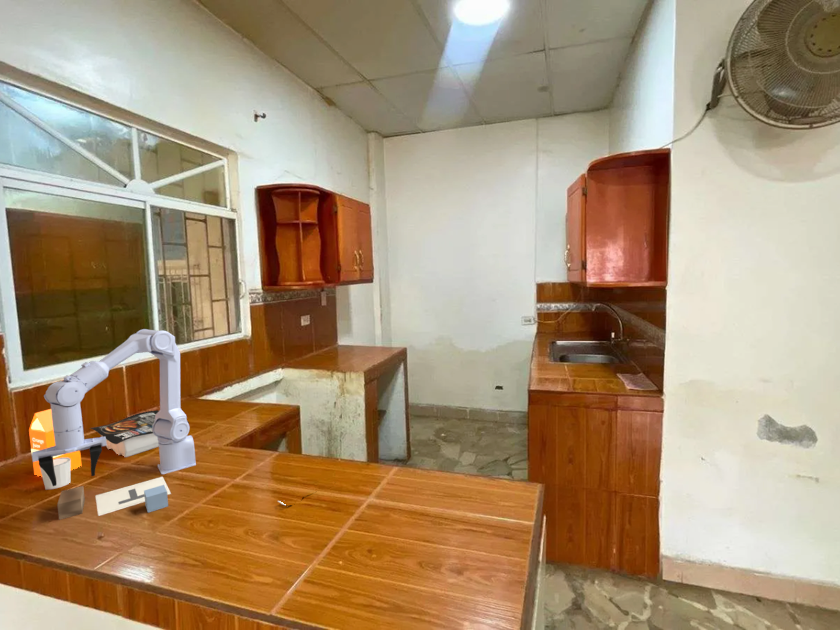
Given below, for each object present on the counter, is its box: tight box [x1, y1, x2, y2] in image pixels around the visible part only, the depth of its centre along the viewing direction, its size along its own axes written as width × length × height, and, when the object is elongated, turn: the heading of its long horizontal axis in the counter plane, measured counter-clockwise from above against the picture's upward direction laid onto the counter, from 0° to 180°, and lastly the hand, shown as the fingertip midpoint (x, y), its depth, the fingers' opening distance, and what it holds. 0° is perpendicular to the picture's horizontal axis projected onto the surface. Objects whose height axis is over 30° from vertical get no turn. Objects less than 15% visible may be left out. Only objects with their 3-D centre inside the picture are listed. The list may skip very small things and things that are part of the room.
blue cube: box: [144, 485, 169, 514], centre depth 110 cm, size 4×4×4 cm
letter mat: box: [95, 476, 172, 517], centre depth 116 cm, size 16×13×1 cm
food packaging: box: [89, 409, 190, 458], centre depth 153 cm, size 25×8×23 cm
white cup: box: [40, 457, 72, 491], centre depth 123 cm, size 7×7×7 cm
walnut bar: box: [57, 485, 86, 521], centre depth 109 cm, size 4×8×4 cm, turn 34°
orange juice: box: [28, 408, 83, 478], centre depth 131 cm, size 8×9×20 cm
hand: (74, 479), depth 109 cm, fingers open, 7 cm apart
